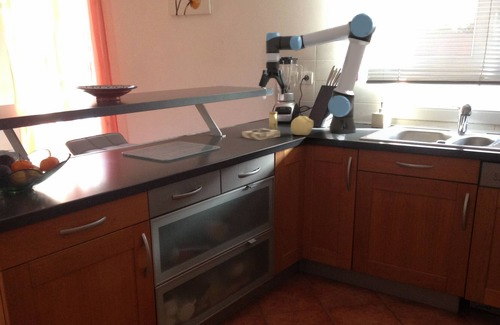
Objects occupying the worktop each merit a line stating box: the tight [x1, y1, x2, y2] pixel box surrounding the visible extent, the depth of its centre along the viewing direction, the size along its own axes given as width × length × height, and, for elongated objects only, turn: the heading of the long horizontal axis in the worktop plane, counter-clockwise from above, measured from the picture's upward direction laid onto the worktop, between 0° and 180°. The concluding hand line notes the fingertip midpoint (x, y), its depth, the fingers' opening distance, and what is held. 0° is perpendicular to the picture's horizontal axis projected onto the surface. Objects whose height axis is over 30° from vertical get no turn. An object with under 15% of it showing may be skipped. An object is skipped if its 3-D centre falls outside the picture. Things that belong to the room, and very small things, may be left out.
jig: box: [241, 128, 281, 141], centre depth 243 cm, size 14×16×3 cm
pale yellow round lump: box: [290, 115, 315, 136], centre depth 246 cm, size 11×12×11 cm
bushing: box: [268, 110, 278, 130], centre depth 255 cm, size 5×5×12 cm
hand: (272, 99), depth 253 cm, fingers open, 13 cm apart
